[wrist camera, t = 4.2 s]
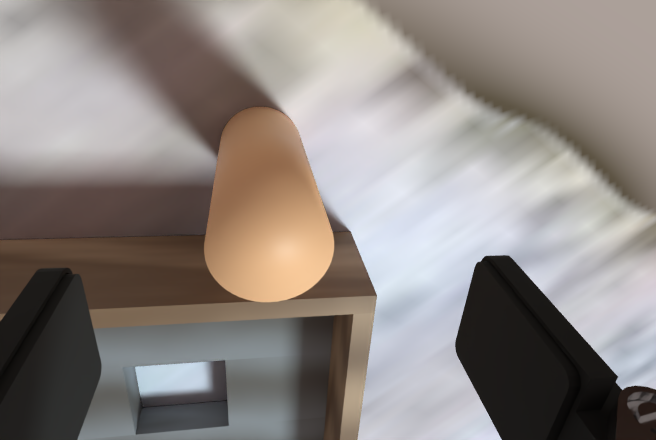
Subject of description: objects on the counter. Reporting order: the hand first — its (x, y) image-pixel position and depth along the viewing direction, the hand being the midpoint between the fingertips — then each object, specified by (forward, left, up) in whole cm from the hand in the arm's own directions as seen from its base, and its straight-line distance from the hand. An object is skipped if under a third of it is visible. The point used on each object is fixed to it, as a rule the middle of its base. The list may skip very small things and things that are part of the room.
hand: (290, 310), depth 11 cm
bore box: (-15, +5, -13) cm, 21 cm away
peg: (0, 0, -13) cm, 13 cm away
